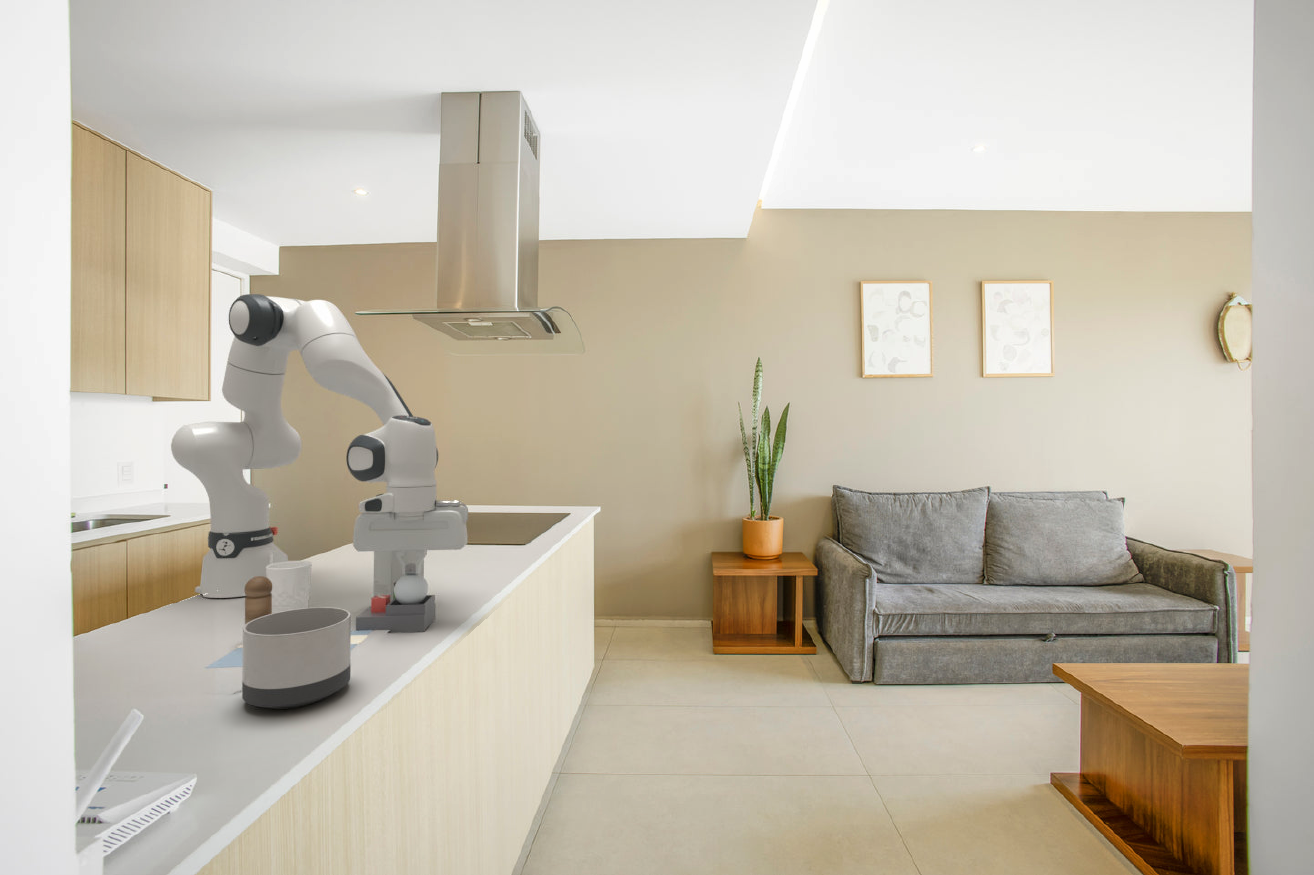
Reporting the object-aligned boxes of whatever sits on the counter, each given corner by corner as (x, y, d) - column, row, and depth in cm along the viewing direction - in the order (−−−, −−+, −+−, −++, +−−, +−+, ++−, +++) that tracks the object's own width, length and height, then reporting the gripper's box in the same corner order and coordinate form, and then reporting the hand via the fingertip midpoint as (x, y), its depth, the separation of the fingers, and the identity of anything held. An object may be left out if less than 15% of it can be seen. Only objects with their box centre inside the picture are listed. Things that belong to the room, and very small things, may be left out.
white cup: (320, 609, 124) (320, 561, 124) (293, 620, 116) (293, 569, 116) (284, 607, 124) (285, 560, 124) (255, 619, 117) (256, 568, 117)
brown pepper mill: (251, 638, 104) (252, 573, 104) (278, 637, 104) (279, 573, 104) (237, 647, 99) (237, 579, 99) (265, 646, 100) (265, 579, 100)
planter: (363, 696, 83) (363, 620, 83) (253, 727, 74) (253, 642, 74) (334, 670, 92) (335, 602, 92) (233, 694, 83) (234, 619, 83)
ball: (399, 601, 116) (399, 570, 116) (431, 600, 117) (431, 569, 117) (389, 610, 110) (389, 577, 110) (423, 609, 111) (423, 577, 111)
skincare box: (390, 613, 121) (390, 536, 121) (370, 608, 125) (371, 533, 125) (425, 603, 128) (425, 531, 128) (406, 599, 132) (406, 528, 132)
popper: (371, 620, 116) (371, 591, 116) (435, 618, 118) (435, 589, 118) (355, 633, 108) (356, 602, 108) (424, 631, 110) (424, 600, 110)
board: (260, 636, 106) (260, 633, 106) (374, 633, 109) (374, 629, 109) (202, 672, 90) (202, 667, 90) (338, 667, 93) (338, 663, 93)
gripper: (471, 498, 117) (471, 568, 117) (362, 499, 115) (362, 571, 115) (464, 502, 111) (464, 576, 111) (349, 503, 109) (349, 578, 109)
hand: (411, 573), depth 113 cm, fingers closed, pressing on ball
